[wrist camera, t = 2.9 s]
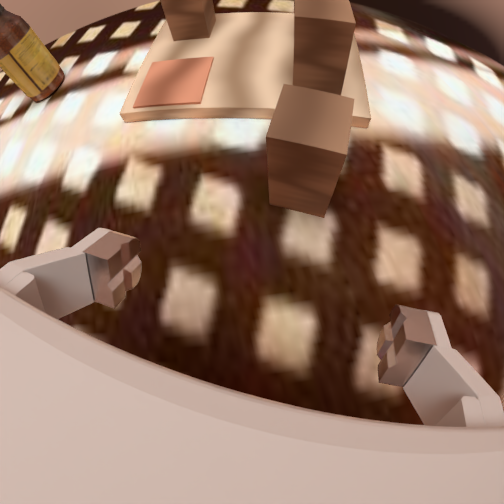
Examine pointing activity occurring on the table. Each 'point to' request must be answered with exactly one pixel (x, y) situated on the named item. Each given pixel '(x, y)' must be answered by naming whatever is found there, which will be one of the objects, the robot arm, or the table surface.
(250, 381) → the table surface
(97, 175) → the table surface
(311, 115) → the walnut peg
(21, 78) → the sauce bottle
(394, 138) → the table surface
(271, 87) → the board
